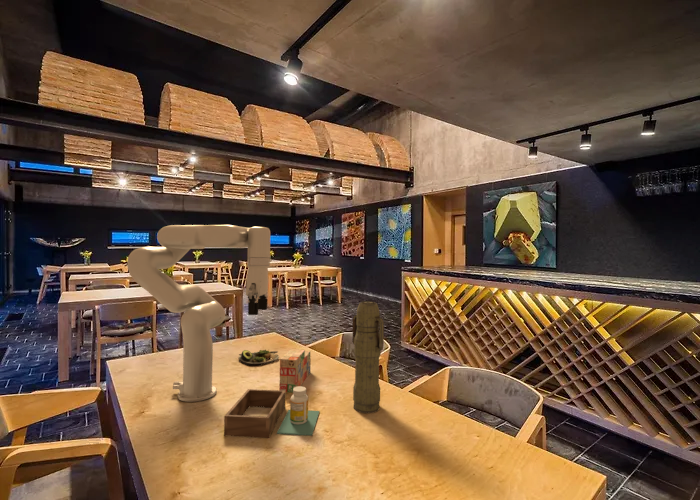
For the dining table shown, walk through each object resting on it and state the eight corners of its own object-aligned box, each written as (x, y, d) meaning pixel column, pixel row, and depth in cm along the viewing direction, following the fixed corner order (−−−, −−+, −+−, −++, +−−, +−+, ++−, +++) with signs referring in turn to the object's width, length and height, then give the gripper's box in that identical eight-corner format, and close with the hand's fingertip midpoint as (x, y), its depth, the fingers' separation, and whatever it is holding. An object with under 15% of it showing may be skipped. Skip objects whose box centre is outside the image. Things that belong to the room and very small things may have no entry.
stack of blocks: (296, 371, 146) (296, 343, 147) (310, 372, 146) (311, 343, 146) (279, 391, 125) (279, 358, 125) (295, 393, 124) (296, 359, 124)
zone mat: (276, 433, 96) (276, 432, 96) (288, 410, 110) (288, 409, 110) (312, 435, 96) (312, 434, 96) (319, 412, 110) (319, 410, 110)
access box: (268, 438, 94) (268, 418, 94) (223, 435, 95) (224, 416, 95) (285, 407, 113) (285, 390, 113) (247, 405, 113) (248, 389, 113)
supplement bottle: (297, 427, 99) (298, 394, 99) (286, 420, 103) (286, 389, 103) (311, 420, 104) (312, 388, 104) (299, 414, 107) (300, 383, 107)
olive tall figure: (357, 398, 121) (359, 299, 121) (388, 406, 114) (389, 302, 115) (344, 407, 113) (345, 302, 113) (375, 417, 107) (377, 305, 107)
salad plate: (269, 351, 176) (269, 342, 176) (288, 359, 163) (288, 350, 163) (233, 359, 162) (233, 349, 162) (251, 369, 150) (251, 358, 150)
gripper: (256, 261, 127) (255, 307, 127) (238, 263, 110) (237, 316, 110) (276, 262, 127) (275, 308, 127) (261, 263, 109) (260, 317, 109)
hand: (257, 312), depth 118 cm, fingers open, 9 cm apart
